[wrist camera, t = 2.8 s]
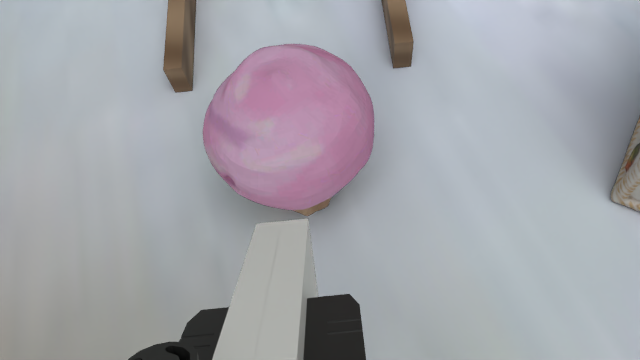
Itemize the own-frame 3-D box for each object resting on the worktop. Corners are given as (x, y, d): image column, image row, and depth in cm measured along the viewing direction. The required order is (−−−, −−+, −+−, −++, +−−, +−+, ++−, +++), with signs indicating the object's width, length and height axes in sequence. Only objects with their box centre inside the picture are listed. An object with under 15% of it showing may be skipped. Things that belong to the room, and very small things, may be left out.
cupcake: (290, 101, 37) (265, -12, 28) (400, 161, 34) (412, 57, 25) (205, 201, 34) (147, 110, 25) (319, 277, 31) (299, 204, 22)
